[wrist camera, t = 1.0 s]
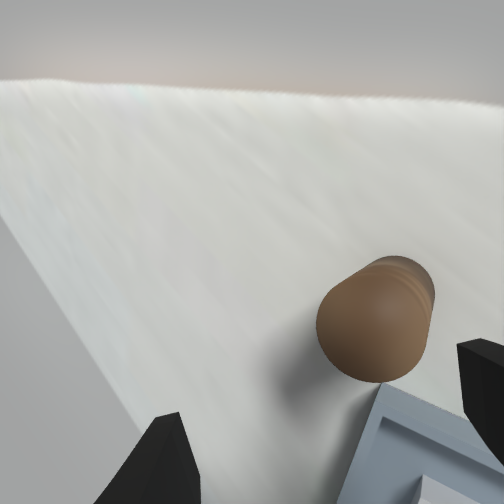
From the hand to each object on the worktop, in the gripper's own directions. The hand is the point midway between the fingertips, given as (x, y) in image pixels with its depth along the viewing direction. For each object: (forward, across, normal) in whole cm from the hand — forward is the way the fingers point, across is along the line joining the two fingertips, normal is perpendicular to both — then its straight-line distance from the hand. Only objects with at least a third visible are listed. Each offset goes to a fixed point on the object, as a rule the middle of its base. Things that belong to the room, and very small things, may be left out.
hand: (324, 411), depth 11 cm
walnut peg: (+12, -6, +3) cm, 14 cm away
